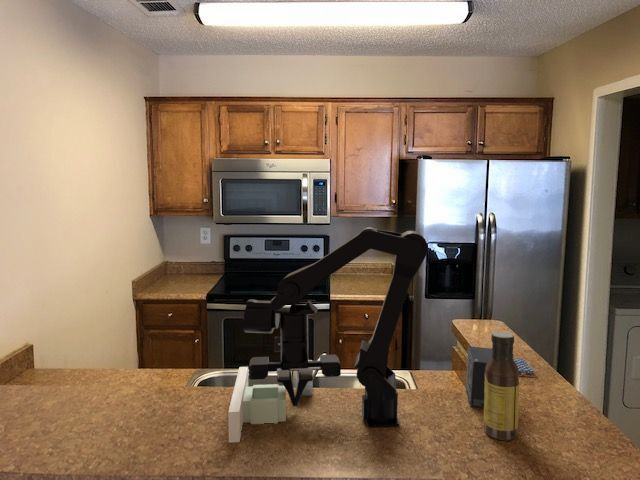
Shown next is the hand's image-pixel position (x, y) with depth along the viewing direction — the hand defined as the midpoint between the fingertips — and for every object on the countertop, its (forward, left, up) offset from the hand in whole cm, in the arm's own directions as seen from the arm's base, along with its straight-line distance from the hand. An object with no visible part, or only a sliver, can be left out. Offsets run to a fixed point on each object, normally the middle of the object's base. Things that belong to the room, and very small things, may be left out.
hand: (295, 405), depth 99 cm
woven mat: (-57, -21, -2) cm, 61 cm away
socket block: (+6, 0, -2) cm, 6 cm away
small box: (-42, -4, -2) cm, 43 cm away
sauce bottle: (-39, +11, -2) cm, 41 cm away
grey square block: (-2, -10, -2) cm, 10 cm away
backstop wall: (+12, 0, -2) cm, 12 cm away
